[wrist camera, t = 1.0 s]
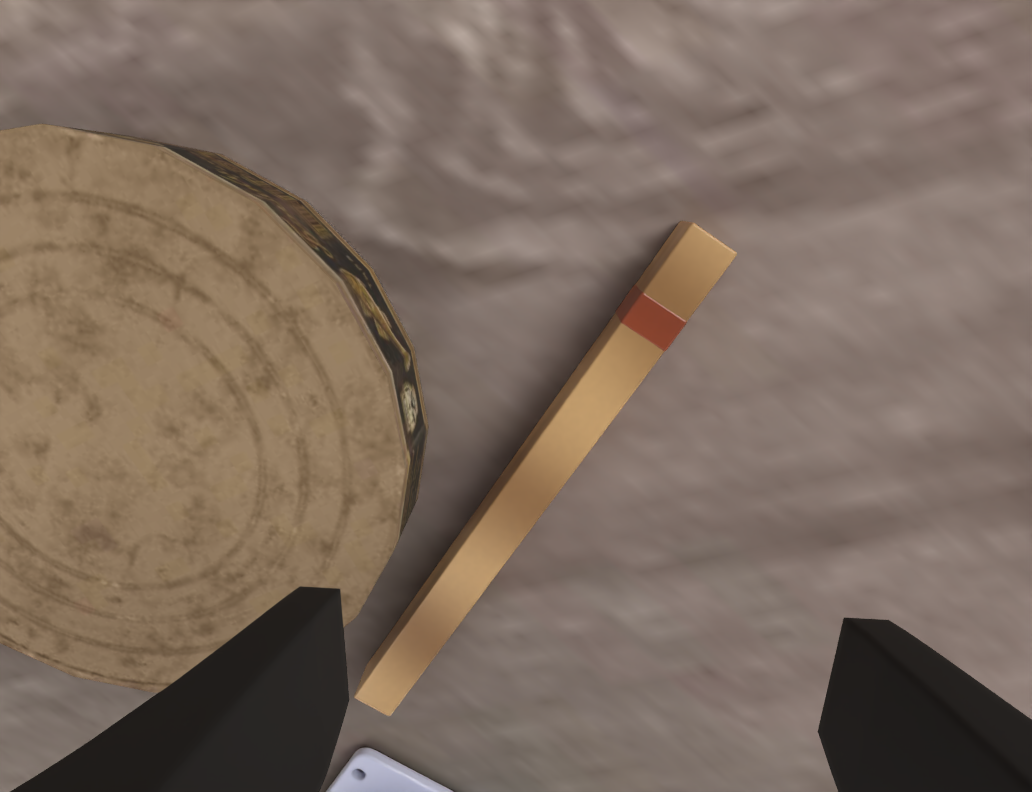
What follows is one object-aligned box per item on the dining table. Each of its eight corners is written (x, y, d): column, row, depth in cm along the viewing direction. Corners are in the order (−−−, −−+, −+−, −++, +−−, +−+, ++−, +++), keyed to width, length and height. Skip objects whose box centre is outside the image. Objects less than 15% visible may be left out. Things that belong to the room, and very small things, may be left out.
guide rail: (401, 683, 22) (390, 718, 20) (366, 664, 21) (352, 698, 20) (723, 248, 16) (739, 254, 15) (679, 218, 16) (692, 221, 15)
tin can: (-70, 46, 16) (-206, 13, 13) (499, 257, 17) (488, 270, 14) (-86, 538, 21) (-186, 592, 18) (354, 683, 22) (323, 757, 19)
